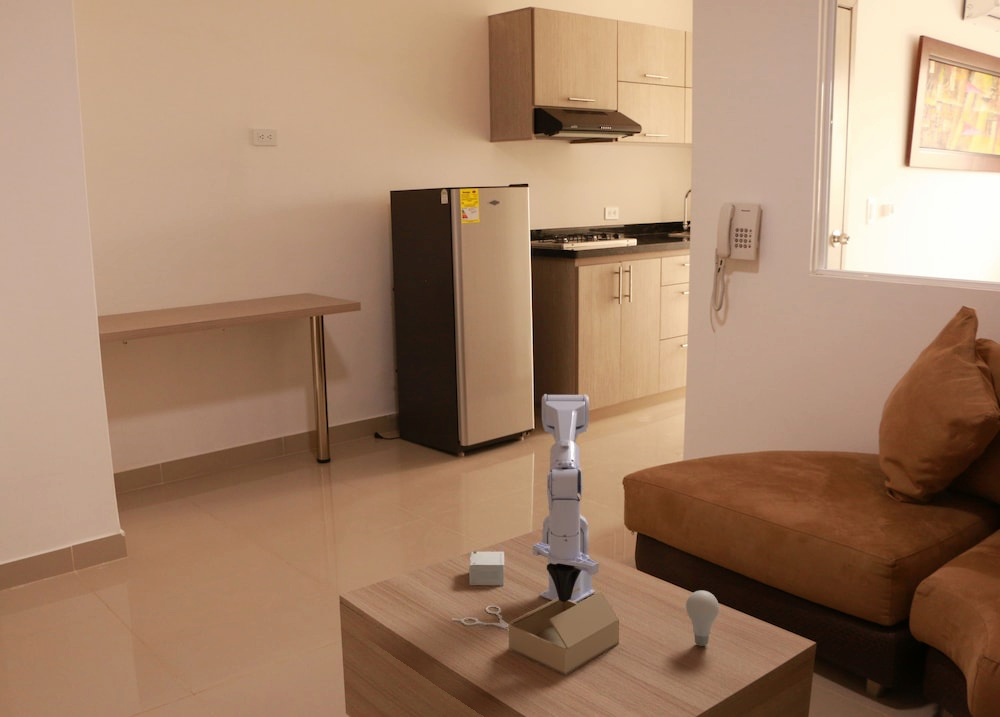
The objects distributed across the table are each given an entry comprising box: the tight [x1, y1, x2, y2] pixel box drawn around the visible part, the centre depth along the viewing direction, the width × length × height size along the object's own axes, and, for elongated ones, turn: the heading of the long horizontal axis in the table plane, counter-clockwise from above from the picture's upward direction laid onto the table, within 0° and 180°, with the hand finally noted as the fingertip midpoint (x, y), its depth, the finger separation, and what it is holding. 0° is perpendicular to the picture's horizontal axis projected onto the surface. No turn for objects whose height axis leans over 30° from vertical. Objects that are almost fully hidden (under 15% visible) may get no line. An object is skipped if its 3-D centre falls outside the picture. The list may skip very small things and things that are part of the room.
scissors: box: [451, 604, 510, 632], centre depth 180 cm, size 11×1×20 cm
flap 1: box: [509, 588, 580, 625], centre depth 174 cm, size 15×6×1 cm
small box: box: [468, 551, 505, 587], centre depth 202 cm, size 8×8×5 cm
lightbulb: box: [685, 589, 720, 648], centre depth 170 cm, size 6×6×11 cm
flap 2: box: [549, 591, 620, 649], centre depth 167 cm, size 15×6×1 cm
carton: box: [508, 600, 620, 677], centre depth 171 cm, size 16×14×5 cm
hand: (564, 599), depth 170 cm, fingers closed
